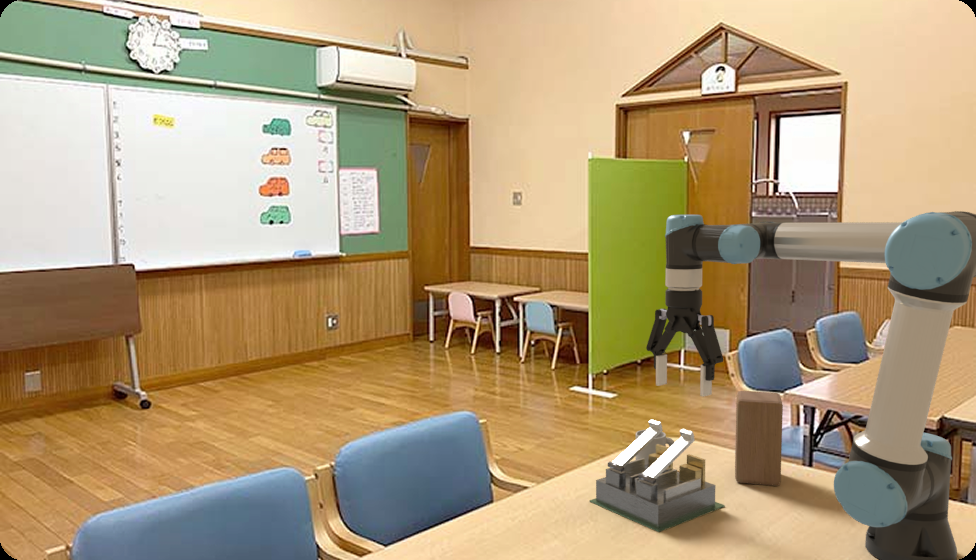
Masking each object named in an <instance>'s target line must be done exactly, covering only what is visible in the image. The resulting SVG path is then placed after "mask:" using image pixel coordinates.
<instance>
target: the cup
mask: <svg viewBox="0 0 976 560" xmlns="http://www.w3.org/2000/svg"><path fill="white" fill-rule="evenodd" d="M646 430H647V429H642V430H637V431H636V432H635V440H636V439H638V438H639V437H640V436H641V435H642V434H643V433H644V432H645V431H646ZM666 436H667V434H666V432H663V431H662V432H661V433H660V434H659V435H658V436H656V437H655V438H654V439H653V440H652V441H651V442H650V443H649V444H648V445H647V446H646V447H645V448H644V449H643V450H642V451H641V452H639V453H638V454H637V455H636V456H635V460H638V459H641V458H644V459H645V465H646V464H648V463H649V455H650V454H653V453H656V445H657V444H660V445H663V446H666V444H667V445H668V447H669V448H670V447H671V446H672V445H673V444H674V443H675V442H676V441H675V440H673V438H671V437H668V436H667V437H666ZM666 447H667V446H666Z"/></svg>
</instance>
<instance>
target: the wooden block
mask: <svg viewBox="0 0 976 560" xmlns="http://www.w3.org/2000/svg"><path fill="white" fill-rule="evenodd" d="M735 398H736V399H735V400H736V403H735V404H736V406H735V407H736V408H735V411H736V412H735V443H734V444H735V445H734V447H735V450H734V453H735V455H734V457H735V458H734V474H735V475H734V479H735V481H736V482H737V483H742V484H751V485H752V484H753V485H763V486H774V487H777V486H780V485H781V482H782V481H781V480H782V478H781V476H782V451H783V449H782V448H783V447H782V446H783V444H782V443H783V411H784V409H783V408H784V406H783V405H784V404H783V401H782V397H781V395H780V393H778V392H771V391H770V392H769V391H754V390H753V391H751V390H739V391H737V393H736V397H735Z"/></svg>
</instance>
